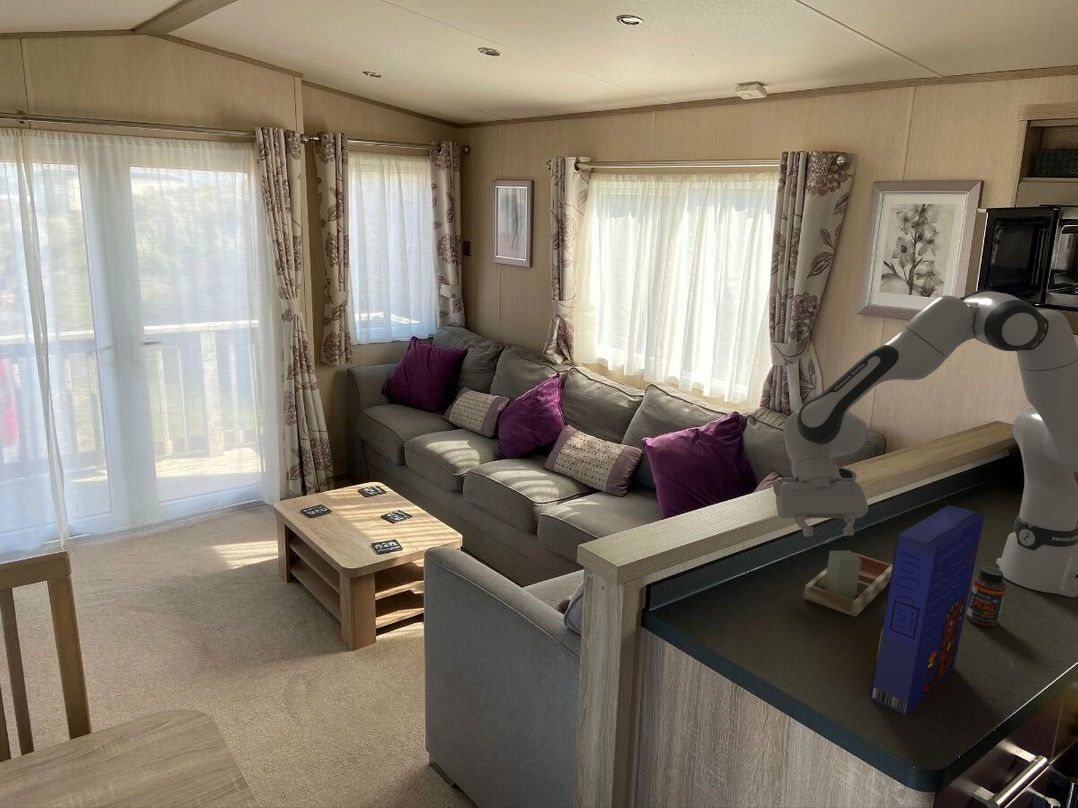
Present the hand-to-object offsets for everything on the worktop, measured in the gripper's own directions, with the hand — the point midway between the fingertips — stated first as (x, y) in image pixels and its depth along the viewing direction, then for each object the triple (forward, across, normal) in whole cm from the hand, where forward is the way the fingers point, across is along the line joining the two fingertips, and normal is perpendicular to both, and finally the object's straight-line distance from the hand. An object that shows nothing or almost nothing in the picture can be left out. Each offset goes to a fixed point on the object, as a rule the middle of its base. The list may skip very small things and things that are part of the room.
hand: (829, 535), depth 175 cm
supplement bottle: (+21, +26, -4) cm, 33 cm away
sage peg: (+13, 0, +3) cm, 13 cm away
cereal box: (+35, -2, -18) cm, 39 cm away
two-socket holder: (+10, +5, +6) cm, 13 cm away
